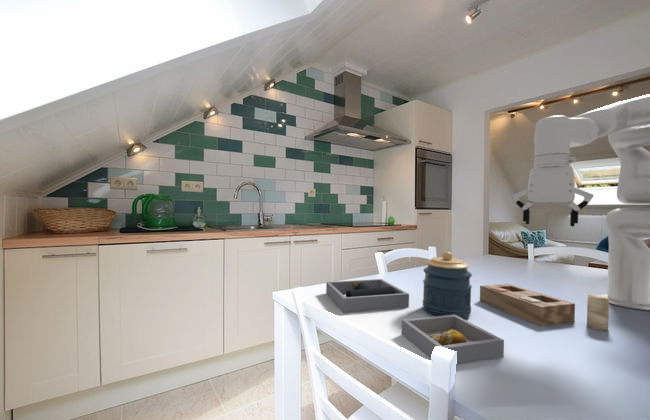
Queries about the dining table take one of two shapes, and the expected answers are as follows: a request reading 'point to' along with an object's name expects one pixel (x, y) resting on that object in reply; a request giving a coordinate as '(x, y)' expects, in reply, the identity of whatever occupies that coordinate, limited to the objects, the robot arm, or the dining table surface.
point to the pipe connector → (368, 290)
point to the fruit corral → (477, 350)
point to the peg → (598, 312)
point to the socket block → (528, 304)
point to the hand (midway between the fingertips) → (549, 225)
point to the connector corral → (366, 302)
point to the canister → (447, 287)
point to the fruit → (449, 337)
